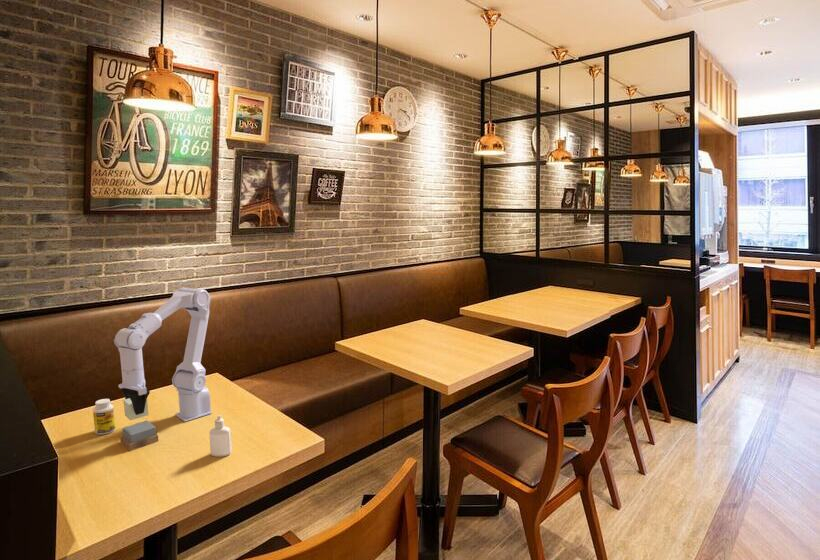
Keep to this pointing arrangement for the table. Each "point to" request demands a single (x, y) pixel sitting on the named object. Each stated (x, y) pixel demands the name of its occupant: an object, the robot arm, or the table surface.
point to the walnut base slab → (138, 442)
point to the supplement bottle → (103, 417)
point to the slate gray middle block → (139, 431)
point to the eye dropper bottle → (220, 439)
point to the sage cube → (130, 410)
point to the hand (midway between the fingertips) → (136, 410)
